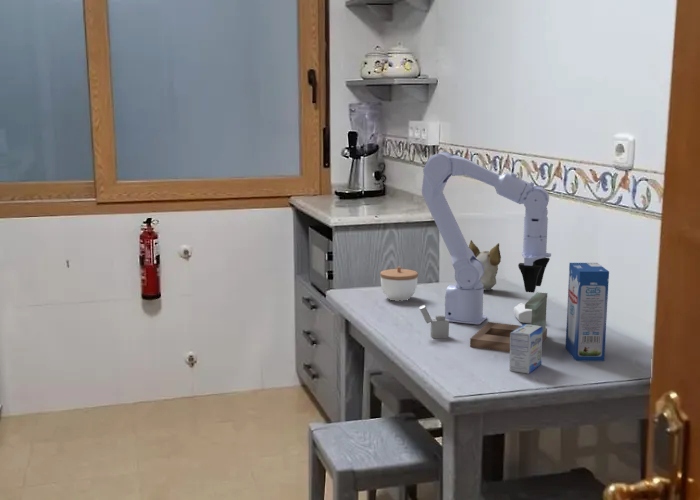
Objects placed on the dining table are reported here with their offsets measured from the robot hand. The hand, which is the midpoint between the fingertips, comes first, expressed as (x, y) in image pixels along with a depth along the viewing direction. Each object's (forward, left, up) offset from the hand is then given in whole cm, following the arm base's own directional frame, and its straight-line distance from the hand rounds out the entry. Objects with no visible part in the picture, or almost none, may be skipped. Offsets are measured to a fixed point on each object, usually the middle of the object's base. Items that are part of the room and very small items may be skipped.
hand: (533, 288), depth 209 cm
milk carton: (+16, -20, -10) cm, 27 cm away
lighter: (-19, -21, -10) cm, 30 cm away
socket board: (-3, -17, -9) cm, 20 cm away
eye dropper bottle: (-1, +1, -8) cm, 8 cm away
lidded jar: (-41, +13, -10) cm, 44 cm away
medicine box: (+6, -35, -10) cm, 37 cm away
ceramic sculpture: (-21, +34, -10) cm, 41 cm away
